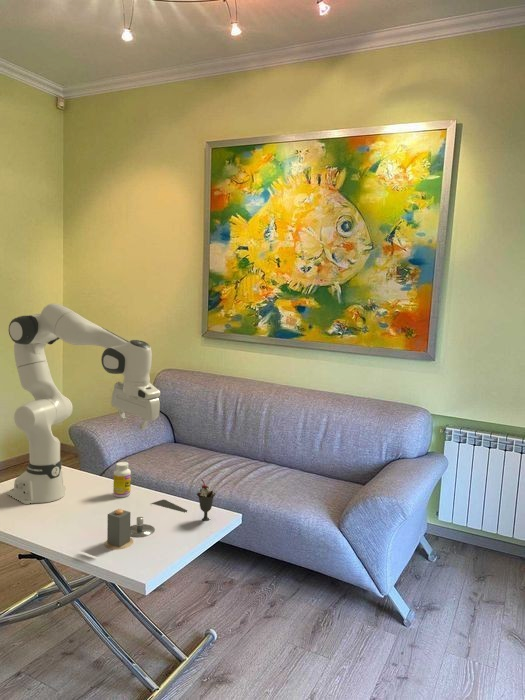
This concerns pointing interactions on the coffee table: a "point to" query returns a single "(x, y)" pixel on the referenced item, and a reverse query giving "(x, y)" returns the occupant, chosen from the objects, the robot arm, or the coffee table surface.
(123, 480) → the supplement bottle
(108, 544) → the coaster
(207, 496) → the sundae
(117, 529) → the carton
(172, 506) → the smartphone
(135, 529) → the grey knobbed dome
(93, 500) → the coffee table surface
